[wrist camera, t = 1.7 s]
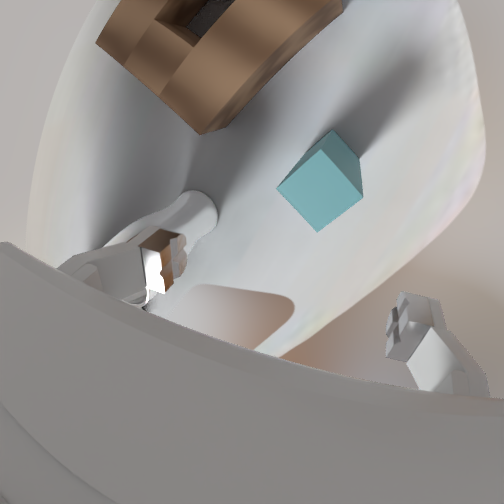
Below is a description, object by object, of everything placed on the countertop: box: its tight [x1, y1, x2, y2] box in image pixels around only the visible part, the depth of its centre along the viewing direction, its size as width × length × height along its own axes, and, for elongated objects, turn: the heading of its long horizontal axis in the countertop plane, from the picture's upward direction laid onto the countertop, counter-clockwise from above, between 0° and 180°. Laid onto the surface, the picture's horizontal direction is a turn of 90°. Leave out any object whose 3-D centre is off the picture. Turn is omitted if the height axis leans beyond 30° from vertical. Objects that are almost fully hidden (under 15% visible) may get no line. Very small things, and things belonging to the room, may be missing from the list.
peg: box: [276, 129, 363, 232], centre depth 23 cm, size 4×4×12 cm
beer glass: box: [102, 190, 218, 307], centre depth 30 cm, size 7×7×15 cm
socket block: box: [96, 0, 343, 135], centre depth 21 cm, size 18×18×6 cm
